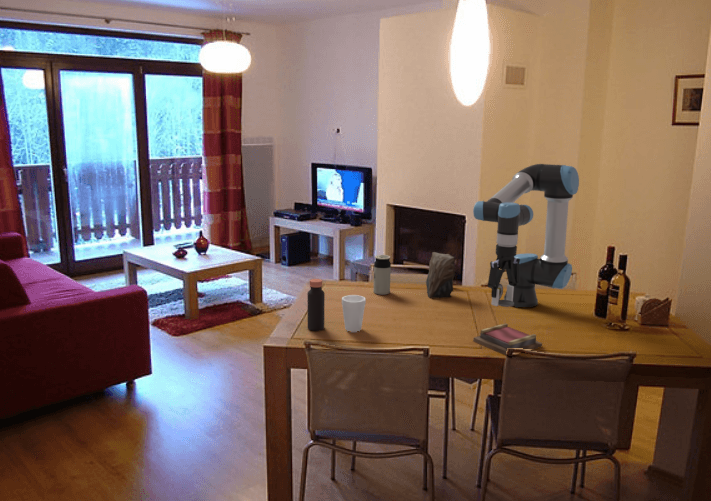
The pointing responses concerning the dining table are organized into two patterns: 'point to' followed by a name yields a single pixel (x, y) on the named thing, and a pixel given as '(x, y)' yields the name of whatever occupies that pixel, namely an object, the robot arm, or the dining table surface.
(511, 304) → the pocket watch
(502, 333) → the stand
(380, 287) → the travel mug
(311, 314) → the bottle
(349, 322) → the foam cup
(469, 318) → the dining table surface
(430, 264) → the grey rough lump
